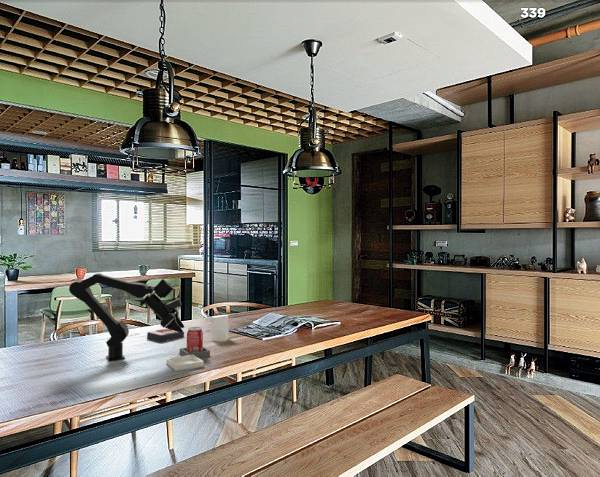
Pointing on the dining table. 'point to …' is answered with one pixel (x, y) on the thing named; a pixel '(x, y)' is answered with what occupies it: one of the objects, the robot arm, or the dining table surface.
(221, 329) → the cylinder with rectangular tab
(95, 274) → the robot arm
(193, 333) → the soda can
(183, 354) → the dark gray square tray
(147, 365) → the dining table surface
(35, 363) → the dining table surface
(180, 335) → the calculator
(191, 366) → the tray
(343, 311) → the dining table surface
